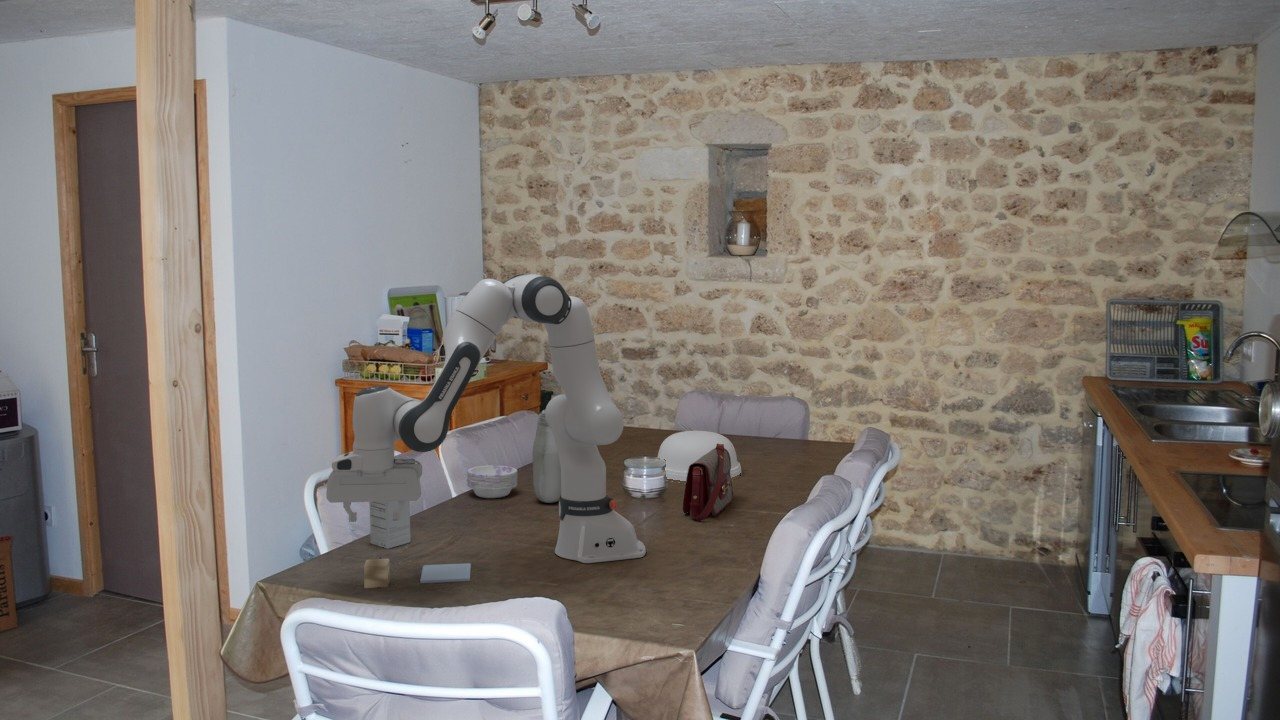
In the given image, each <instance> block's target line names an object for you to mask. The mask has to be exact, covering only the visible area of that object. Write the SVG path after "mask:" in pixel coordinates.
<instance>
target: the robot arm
mask: <svg viewBox="0 0 1280 720" xmlns="http://www.w3.org/2000/svg"><path fill="white" fill-rule="evenodd" d="M512 318H514V319H519V320H522V321H526V322H528V323H529V322H530V323H531V322H533V323H534V322H536V323H540V324H543V325H544V327H545V329H546V332H547V341H548V346H549V352H550V359H551V367H552V372H553V377H554V379H555V380H556V382H557V383H558V384H559V386H560V387H561V389H562V391H563V393H562V394H558V395H556V396H554V397H552V398H551V399H550V400H549V401H548V404H546V407H545V409H546V410H545V409H544V410H545V419H546V422H547V424H548V425H549V427H550V429H551V430H552V433H553V435H554V439H555V442H556V446H557V450H558V455H559V459H560V467H561V496H560V498H559V501H558V516H559V528H558V529H559V530H558V536H557V542H556V545H555V549H554V553H555V554H556V555H557V556H559V557H560V558H563V559H567V560H573V561H577V562H579V563H583V564H593V563H602V562H611V561H621V560H622V561H623V560H630V559H639V558H642V557H644V556H645V555H646V552H647V551H646V546H645V544H644V543H643V541H641V540H639V539H638V538H637V533H636V530H635V527H634V526H633V524H632V523H631V521H629V520H628V519H627V518H625V517H624V516H622V515H621V514H619V512H617V511H615V510H616V509H617V508H618V505H619V504H618V502H617V500H616V499H614V498H613V497H611V495H609V494H607V493H606V492H607V486H606V485H607V467H606V463H605V460H604V458H602V455H601V454H600V451H599V449H598V446H605V445H610V444H611V445H612V443H615V442H616V441H617V440H618V439H619V438H620V437H621V435H622V433H623V430H624V425H625V421H624V416H623V414H622V412H621V410H620V409H619V408H618V407H617V406H616V404H615V403H614V401H613V399H612V397H611V396H610V393H609V391H608V388H607V386H606V383H605V381H604V378H603V376H602V374H601V369H600V366H599V365H600V364H599V357H598V353H597V348H596V346H597V345H596V341H595V335H594V334H595V332H594V328H593V324H592V320H591V317H590V314H589V311H588V308H587V305H586V303H585V302H584V300H582V298H579V297H576V296H573V295H569V294H568V293H567V292H566V290H565V288H564V287H563V286H562V284H561V283H560V282H559V281H557V280H556V279H555V278H553V277H550V276H546V275H541V274H537V273H536V274H535V273H530V274H522V273H521V274H516V275H513V276H511V277H509V278H507V279H506V280H503V281H499V280H497V279H494V278H483V279H481V280H480V281H478V282H477V283H476V284H475V285H474V286H473V287H472V288H471V289H470V290H469V292H468V293H467V294H466V295H465V296H464V298H463V299H462V300H461V302H460V303H459V304H458V305H457V307H456V308H455V310H454V312H453V313H452V315H451V316H450V318H449V319H448V322H447V324H446V325H445V329H444V331H443V333H442V344H443V347H444V353H445V355H444V362H443V367H442V368H441V371H440V372H439V374H438V376H437V378H436V380H435V381H434V383H433V385H432V386H431V389H429V392H428V393H427V395H426V396H425V398H424V399H423V400H421V399H418V398H414V397H412V396H411V397H410V396H407V395H405V394H403V393H400V392H398V391H396V390H394V389H392V388H391V387H390V386H389V385H386V384H385V385H384V384H383V385H373V386H369V387H364V388H363V389H360V390H359V391H358V392H357V394H355V396H354V400H353V404H352V405H353V407H352V431H353V434H354V441H353V443H352V451H349V452H346V453H343V454H339V455H336V457H334V459H332V462H331V470H332V471H331V472H330V473H329V475H328V478H327V483H326V493H325V494H326V496H325V497H326V500H327V501H328V502H329V503H342V505H343V507H342V508H343V509H344V511H345V512H346V513H347V515H348V523H354V522H357V520H358V519H357V515H358V514H357V512H355V511H353V510H352V509H351V506H352V503H369V502H383V501H398V506H400V507H399V509H398V510H397V511H393V521H400V512H401V511H402V509H403V507H404V505H405V501H409V502H415V501H418V500H419V499H420V498H421V495H422V486H421V479H420V478H421V477H422V475H423V465H422V463H421V462H420V461H418V460H416V458H409V459H405V458H404V459H403V458H395V443H396V442H397V441H402V442H403V443H404V445H405V446H406V447H407V448H409V450H412V451H413V452H417V453H427V452H432V451H433V450H435V449H437V448H439V447H440V446H441V444H443V442H444V441H445V439H446V438H447V434H448V432H449V426H450V420H451V416H452V413H453V411H454V409H455V407H456V405H457V404H458V402H459V400H460V398H461V397H462V395H463V393H464V391H465V389H466V388H467V386H468V383H469V382H470V380H471V379H472V377H473V375H474V373H475V371H476V369H477V367H478V366H479V364H480V363H481V361H482V359H483V357H484V356H485V354H486V353H487V352H488V350H489V349H490V348H491V346H492V344H494V341H495V340H496V338H497V337H498V335H499V333H500V331H501V330H502V328H503V326H504V325H505V324H506V323H507V322H508V321H510V319H512Z"/></svg>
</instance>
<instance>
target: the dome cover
mask: <svg viewBox="0 0 1280 720" xmlns="http://www.w3.org/2000/svg"><path fill="white" fill-rule="evenodd" d="M717 444H724V448H725V449H726V450H727V451H728V452H729V454H730V459H731V470H730V476H731V478H732V477H735V476H737V475H739V474H740V473H741V474H742V467H741V463H740V462H739V461H738V458H737V452H736V449H735V447H734V444H733V443H732V442H731V440H730V439H729V438H727V437H726V436H724V435H722V434H720V433H717V432H715V431H714V432H713V431H707V430H706V431H705V430H685V431H678V432H675V433H673V434H671V435H669V436H668V437H666V438H665V439H664V440H663V442H662V443H661V444H660V446H659V448H658V449H659V450H658V453H657V458H660V459H665V460H666V467H665V471H666V477H667V479H673V480H680V481H686V479H687V473H688V469H689V466H690V465H691V464H693V463H694V462H696V461H697V460H698V459H699V458H701V457H702V456H704V455H705V454H707V453H708V452H710V451H711V450H713V449H715V448H716V445H717ZM657 458H656V459H657Z"/></svg>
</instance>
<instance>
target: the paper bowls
mask: <svg viewBox="0 0 1280 720" xmlns="http://www.w3.org/2000/svg"><path fill="white" fill-rule="evenodd" d="M466 473H467V476H466V481H467V482H466V483H467V487H468V488H470V489H472V491H473V493H474V494H475V495H476V496H477V497H480V498H484V499H497V498H498V499H500V498H504V497H506V496H508V495H509V494H510V493H511V491H512V489H514V488H516V487H517V486H518V469H517V468H515V467H512V466H509V465H508V466H507V465H488V464H487V465H478V466H477V465H476V466H474V467H470V468H468V469H467V472H466Z"/></svg>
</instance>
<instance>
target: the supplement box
mask: <svg viewBox="0 0 1280 720" xmlns="http://www.w3.org/2000/svg"><path fill="white" fill-rule="evenodd" d="M410 502H411V501H405V505H404V507H403V509H402V511H401V512H400V521H393V511H397V510H398V509H399V507H400V506H398V501H383V502H368V503H369V524H370V526H369V527H370V528H369V530H370V532H369V533H370V544H371V545H374V546H377V547H380V548H383V547H384V548H383V549H387V550H388V549H392V548H395V547H399V546H402V545H406V544H409V543H411V513H410V512H411V507H410V506H411V505H410Z"/></svg>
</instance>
